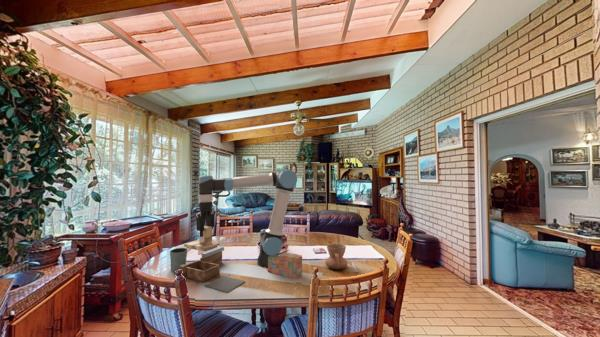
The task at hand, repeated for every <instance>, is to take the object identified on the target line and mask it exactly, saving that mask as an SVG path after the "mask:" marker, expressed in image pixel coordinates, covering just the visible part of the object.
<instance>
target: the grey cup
mask: <svg viewBox="0 0 600 337" xmlns="http://www.w3.org/2000/svg"><path fill="white" fill-rule="evenodd" d="M169 257H170V258H169V259H170V271H171V272H174V271H176V270H178V269H179V266H180V265H187V257H188V248H187V247H176V248H172V249H171V250H169Z"/></svg>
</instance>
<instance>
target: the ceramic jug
mask: <svg viewBox="0 0 600 337" xmlns="http://www.w3.org/2000/svg"><path fill="white" fill-rule="evenodd" d="M346 247H347V246H346V245H345V244H343V243H336V242H335V243H334V242H333V243H328V244H327V245H326V249H327V252H328V255H329V257H327V258H326V259H325V262H324V263H325V266H326V267H327V268H330V269H332V270H338V271H339V270H344V269H346V268H347V266H348V265H349V264H348V261H347V259H345V258H344V255H345V253H346Z"/></svg>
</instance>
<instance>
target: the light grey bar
mask: <svg viewBox="0 0 600 337" xmlns="http://www.w3.org/2000/svg"><path fill="white" fill-rule="evenodd" d="M223 251H225V246H222V245H221V246H219V247H218V246H217V247H216V248H213V249H210V250H208V251H203V252H201V258H202V257H203V258H205V257H208V256H211V255H213V254H216V253H219V252H223Z"/></svg>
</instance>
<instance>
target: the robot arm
mask: <svg viewBox="0 0 600 337" xmlns="http://www.w3.org/2000/svg"><path fill="white" fill-rule="evenodd" d="M297 176H298V175H297V174H296V173H295V171H294V170H291V169H282V170H279V171H274V172H270V173H268V174H257V175H248V176H247V175H245V176H236V177H227V178H226V177H223V178H214V177H213V175H200V176H199V179H198V201H199V203H198V208H199V210H198V213H195V220H196V221H195V222H196V223H195V225H196V227H195V229H196V231H198V232H199V231H200V242H203V243H204V242H205V231H204V226H211V227H212V230H213V229H214V228H215V225H216V224H215V222H216V221H215V220H216V219H215V218H216V212H217V211H216V210H213V209H212V208H213V207H214V206H213V199H214V198H213V194H214V193H213V192H231V191H233V190H236V189H243V188H244V189H245V188H246V189H247V188H255V187H266V186H271V187H275V191H276V194H275V197H274V203H273V207H272V210H271V211H272V212H271V216H270V221H269V225H268V228H263V229H261V230H260V232H259V254H258V257H257V260H256V262H257V265H258V266H259V267H264V268H268V257H269V256H274V255H279V254H280V252H281V251H282V249H283V238H284V233H283V226H284V223H285V222H284V221H285V218H286V214H287V213H286V212H287V209H288V205H289V200H290V195H291V194H293V193H294V189H295V186H296V185H297V183H298V177H297Z"/></svg>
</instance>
